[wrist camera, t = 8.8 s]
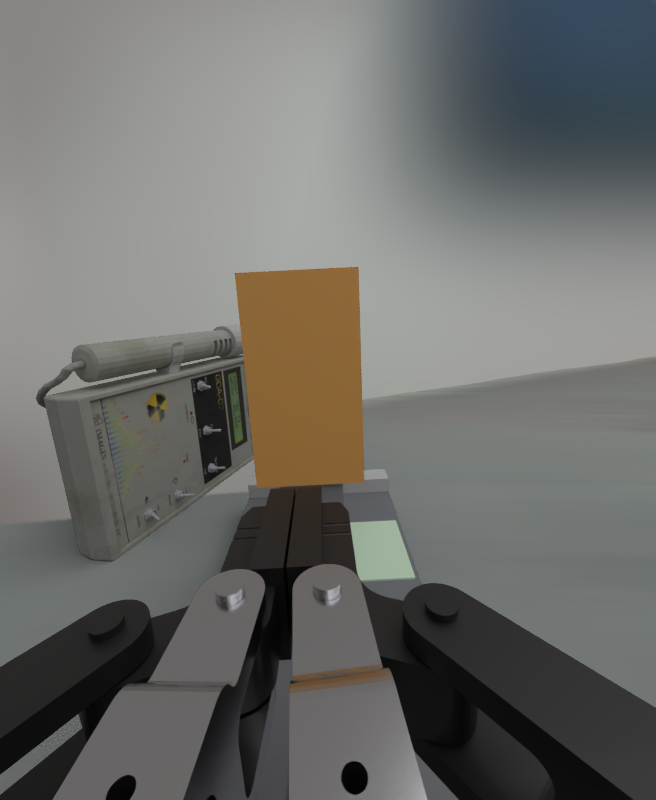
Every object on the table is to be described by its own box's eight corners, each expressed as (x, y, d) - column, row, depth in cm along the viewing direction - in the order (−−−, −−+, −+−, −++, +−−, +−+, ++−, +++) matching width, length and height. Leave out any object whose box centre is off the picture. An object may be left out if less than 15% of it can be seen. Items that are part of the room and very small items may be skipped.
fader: (366, 566, 18) (358, 266, 15) (265, 571, 18) (234, 273, 15) (360, 530, 21) (352, 274, 18) (273, 535, 21) (249, 279, 18)
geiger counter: (75, 342, 19) (285, 321, 42) (-1, 343, 22) (238, 322, 44) (121, 568, 23) (293, 436, 46) (51, 549, 25) (249, 432, 48)
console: (862, 2025, 3) (990, 2052, 3) (-272, 2077, 3) (-458, 2118, 3) (385, 504, 28) (384, 469, 28) (256, 511, 28) (252, 475, 28)
